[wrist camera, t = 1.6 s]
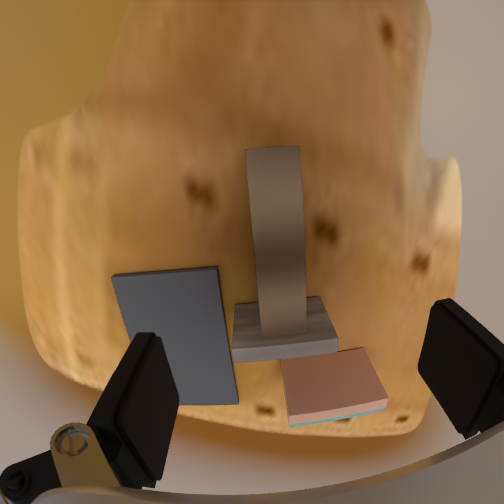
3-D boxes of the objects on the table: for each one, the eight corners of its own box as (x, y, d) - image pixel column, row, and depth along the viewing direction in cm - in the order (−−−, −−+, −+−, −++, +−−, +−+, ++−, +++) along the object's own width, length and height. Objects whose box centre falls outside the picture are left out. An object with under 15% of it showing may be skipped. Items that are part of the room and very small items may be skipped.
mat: (113, 274, 23) (110, 277, 23) (217, 266, 23) (216, 269, 22) (156, 400, 28) (155, 404, 27) (238, 400, 28) (238, 404, 27)
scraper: (217, 153, 20) (205, 153, 15) (314, 146, 20) (339, 144, 14) (236, 317, 25) (233, 362, 19) (319, 309, 24) (337, 351, 19)
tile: (280, 359, 26) (288, 415, 19) (363, 347, 26) (388, 397, 19) (281, 370, 27) (289, 426, 20) (361, 359, 26) (384, 409, 20)
